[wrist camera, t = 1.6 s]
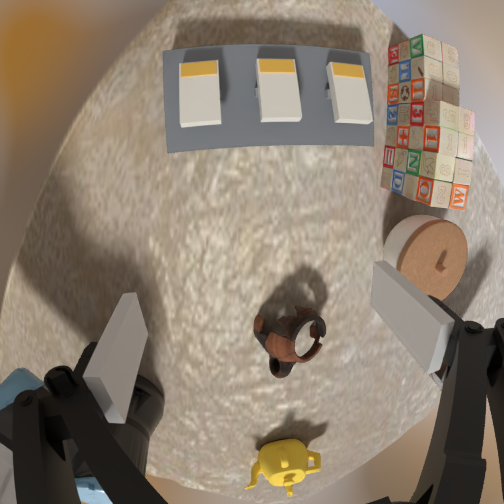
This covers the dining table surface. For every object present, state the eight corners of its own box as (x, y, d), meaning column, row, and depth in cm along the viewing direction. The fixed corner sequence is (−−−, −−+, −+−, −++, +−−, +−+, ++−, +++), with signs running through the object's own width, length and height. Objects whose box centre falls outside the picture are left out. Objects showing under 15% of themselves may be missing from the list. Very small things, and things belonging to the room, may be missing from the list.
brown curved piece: (253, 296, 45) (290, 312, 39) (299, 294, 51) (337, 307, 44) (242, 369, 46) (275, 393, 40) (287, 360, 52) (321, 379, 45)
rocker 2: (334, 122, 30) (339, 118, 29) (326, 67, 29) (330, 61, 28) (367, 124, 31) (373, 120, 29) (357, 70, 30) (362, 64, 28)
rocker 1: (260, 122, 30) (262, 117, 28) (255, 64, 29) (256, 57, 27) (299, 121, 30) (302, 117, 28) (291, 64, 29) (294, 58, 28)
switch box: (173, 151, 36) (166, 153, 31) (169, 59, 32) (161, 46, 26) (356, 144, 38) (377, 146, 33) (352, 59, 34) (372, 49, 28)
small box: (181, 127, 29) (179, 123, 27) (180, 69, 28) (179, 62, 27) (221, 124, 29) (221, 119, 28) (218, 66, 28) (217, 59, 27)
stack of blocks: (386, 47, 34) (437, 27, 22) (420, 58, 34) (473, 45, 23) (379, 187, 41) (431, 207, 30) (413, 191, 42) (466, 211, 30)
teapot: (239, 456, 60) (243, 491, 51) (277, 428, 57) (286, 466, 48) (284, 467, 64) (291, 498, 55) (321, 441, 61) (332, 474, 52)
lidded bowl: (355, 267, 45) (390, 302, 35) (392, 191, 41) (438, 209, 31) (410, 289, 48) (447, 322, 38) (444, 223, 44) (488, 246, 34)
